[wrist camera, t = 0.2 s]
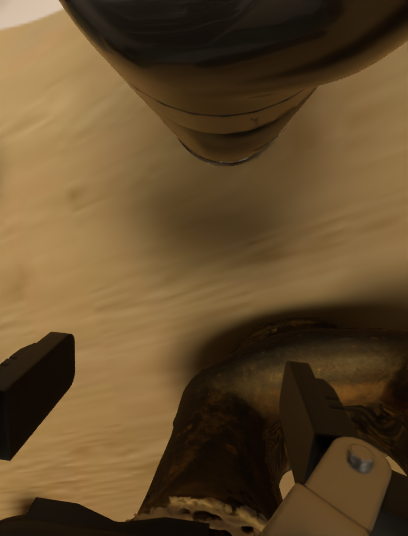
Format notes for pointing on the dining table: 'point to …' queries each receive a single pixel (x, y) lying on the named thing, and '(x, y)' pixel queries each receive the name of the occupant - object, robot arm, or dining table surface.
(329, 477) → the robot arm
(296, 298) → the dining table surface
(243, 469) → the pottery vessel
